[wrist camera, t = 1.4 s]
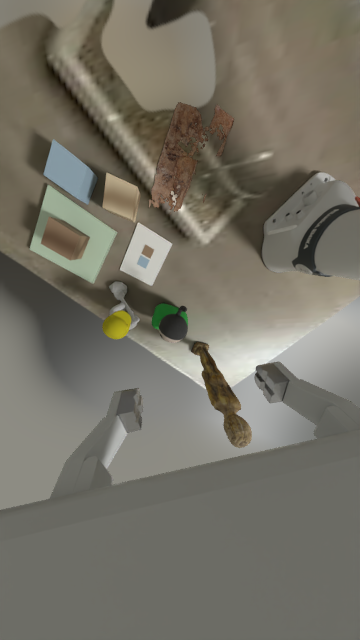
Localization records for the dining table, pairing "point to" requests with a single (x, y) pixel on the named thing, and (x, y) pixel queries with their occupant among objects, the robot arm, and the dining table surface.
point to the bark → (184, 164)
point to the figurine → (119, 314)
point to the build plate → (83, 221)
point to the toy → (170, 322)
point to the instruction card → (145, 254)
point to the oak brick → (121, 198)
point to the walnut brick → (64, 239)
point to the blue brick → (70, 173)
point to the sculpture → (223, 398)
